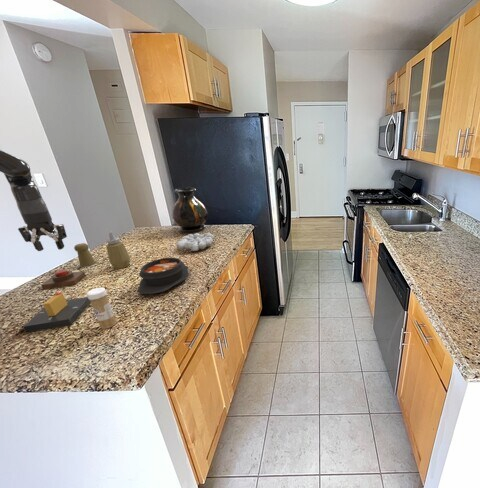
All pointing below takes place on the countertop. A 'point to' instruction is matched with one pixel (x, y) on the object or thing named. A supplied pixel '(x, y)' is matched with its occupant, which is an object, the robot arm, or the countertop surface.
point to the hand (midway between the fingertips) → (51, 249)
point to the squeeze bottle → (117, 252)
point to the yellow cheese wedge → (55, 304)
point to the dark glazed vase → (189, 211)
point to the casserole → (162, 275)
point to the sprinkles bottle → (102, 307)
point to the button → (61, 273)
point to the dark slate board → (58, 316)
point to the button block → (63, 280)
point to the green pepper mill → (84, 255)
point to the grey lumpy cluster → (195, 241)
